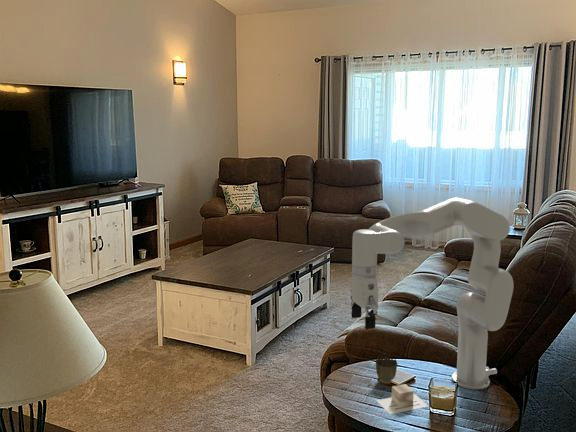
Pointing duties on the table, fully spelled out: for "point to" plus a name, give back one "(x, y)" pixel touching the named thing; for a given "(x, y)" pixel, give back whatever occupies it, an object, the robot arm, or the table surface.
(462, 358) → the robot arm
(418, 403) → the letter
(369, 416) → the table surface
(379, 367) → the dark olive tapered piece
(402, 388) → the beech block
